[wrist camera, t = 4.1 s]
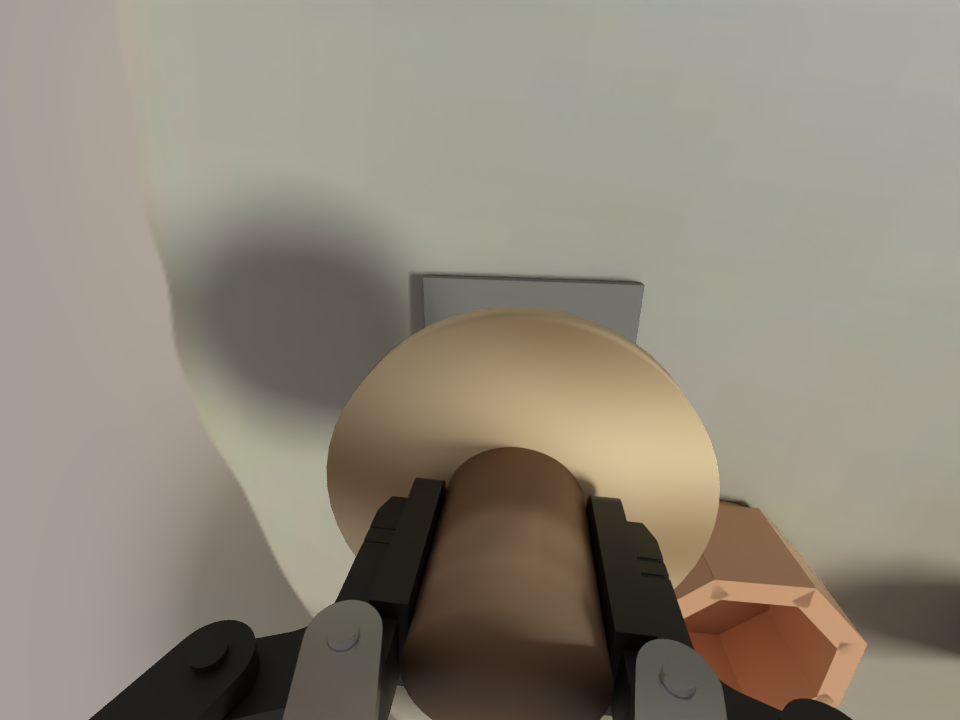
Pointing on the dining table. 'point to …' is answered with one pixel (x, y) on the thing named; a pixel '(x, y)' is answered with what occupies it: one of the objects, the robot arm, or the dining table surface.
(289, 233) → the dining table surface
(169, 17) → the dining table surface
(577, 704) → the lid
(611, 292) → the mat
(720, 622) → the bowl
